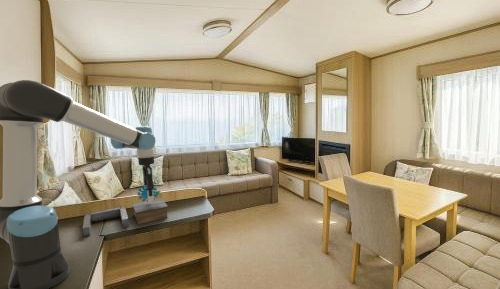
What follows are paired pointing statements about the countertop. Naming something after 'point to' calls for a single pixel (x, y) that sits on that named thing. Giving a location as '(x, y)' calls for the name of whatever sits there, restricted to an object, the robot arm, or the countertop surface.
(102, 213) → the cradle
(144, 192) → the blue lumpy piece
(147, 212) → the dark brown wooden box
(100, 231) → the countertop surface
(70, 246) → the countertop surface
